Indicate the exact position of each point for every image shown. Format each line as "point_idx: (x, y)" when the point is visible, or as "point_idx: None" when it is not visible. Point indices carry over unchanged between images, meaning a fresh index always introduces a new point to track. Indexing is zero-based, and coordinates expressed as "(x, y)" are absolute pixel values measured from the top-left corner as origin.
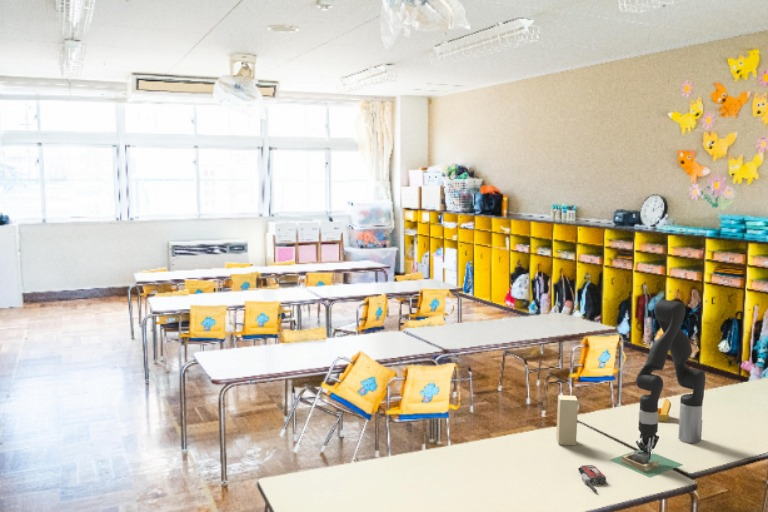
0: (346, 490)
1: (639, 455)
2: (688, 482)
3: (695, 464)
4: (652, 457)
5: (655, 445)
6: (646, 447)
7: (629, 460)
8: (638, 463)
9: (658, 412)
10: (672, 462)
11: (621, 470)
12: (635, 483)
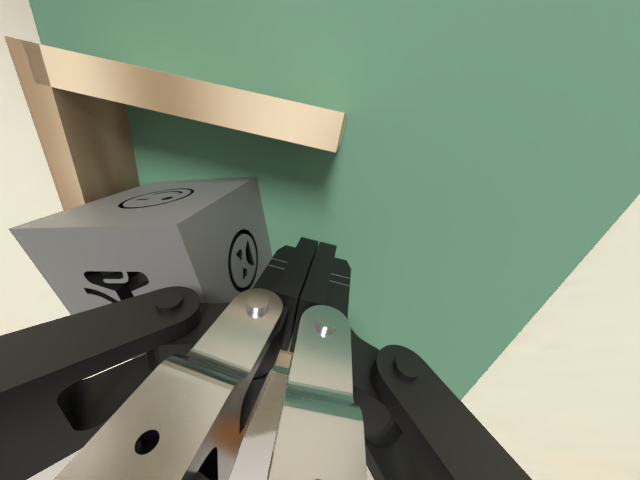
0: None
1: (73, 306)
2: (253, 436)
3: (504, 445)
4: (462, 248)
5: (420, 472)
6: (303, 351)
7: (54, 181)
8: None
9: None
10: (445, 373)
11: (13, 150)
12: (8, 293)
